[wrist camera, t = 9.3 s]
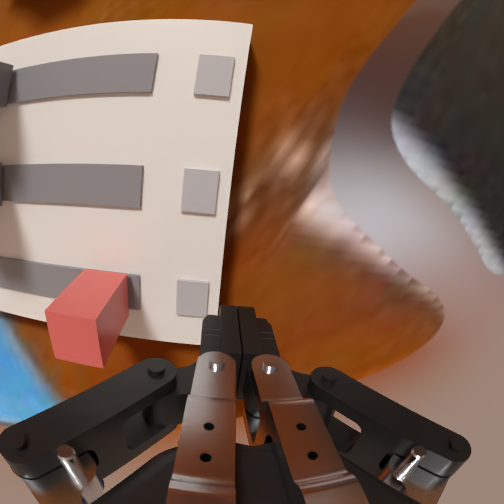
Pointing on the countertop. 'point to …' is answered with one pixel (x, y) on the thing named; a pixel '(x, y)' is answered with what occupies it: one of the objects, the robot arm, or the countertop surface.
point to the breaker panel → (121, 166)
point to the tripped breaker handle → (88, 317)
